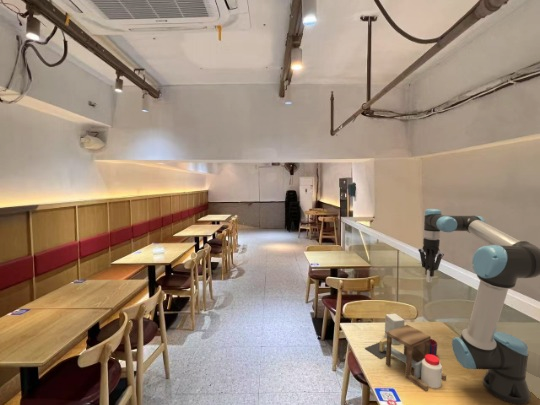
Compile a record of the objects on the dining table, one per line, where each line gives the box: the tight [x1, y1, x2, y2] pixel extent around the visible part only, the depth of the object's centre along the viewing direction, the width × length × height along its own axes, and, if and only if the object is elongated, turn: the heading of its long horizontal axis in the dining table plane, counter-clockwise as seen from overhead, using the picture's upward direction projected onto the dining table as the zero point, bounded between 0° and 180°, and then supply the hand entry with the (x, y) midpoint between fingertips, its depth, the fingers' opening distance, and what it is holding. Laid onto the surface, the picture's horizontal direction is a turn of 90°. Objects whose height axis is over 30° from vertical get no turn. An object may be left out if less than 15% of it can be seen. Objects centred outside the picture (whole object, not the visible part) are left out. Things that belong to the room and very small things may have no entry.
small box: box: [384, 313, 406, 345], centre depth 160 cm, size 8×6×13 cm
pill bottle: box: [420, 354, 443, 389], centre depth 128 cm, size 8×8×11 cm
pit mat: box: [364, 341, 386, 360], centre depth 151 cm, size 10×12×1 cm
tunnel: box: [385, 324, 447, 392], centre depth 134 cm, size 20×14×16 cm
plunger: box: [379, 337, 422, 379], centre depth 141 cm, size 22×9×6 cm, turn 30°
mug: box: [430, 338, 438, 357], centre depth 148 cm, size 7×10×7 cm
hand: (429, 281), depth 159 cm, fingers closed
